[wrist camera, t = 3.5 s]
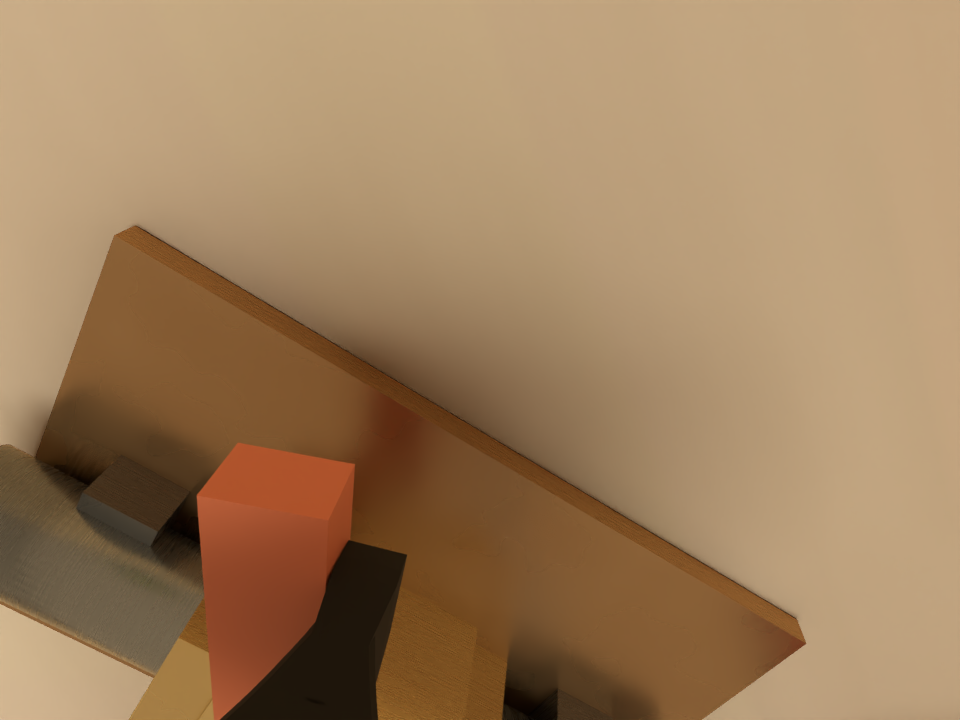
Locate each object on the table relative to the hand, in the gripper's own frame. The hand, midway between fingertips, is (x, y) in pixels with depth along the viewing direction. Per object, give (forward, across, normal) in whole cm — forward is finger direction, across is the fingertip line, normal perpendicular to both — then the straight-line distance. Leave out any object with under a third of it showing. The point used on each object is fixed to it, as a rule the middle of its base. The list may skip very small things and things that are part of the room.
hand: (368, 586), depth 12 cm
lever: (0, +1, +4) cm, 4 cm away
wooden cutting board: (+6, +1, +8) cm, 9 cm away
